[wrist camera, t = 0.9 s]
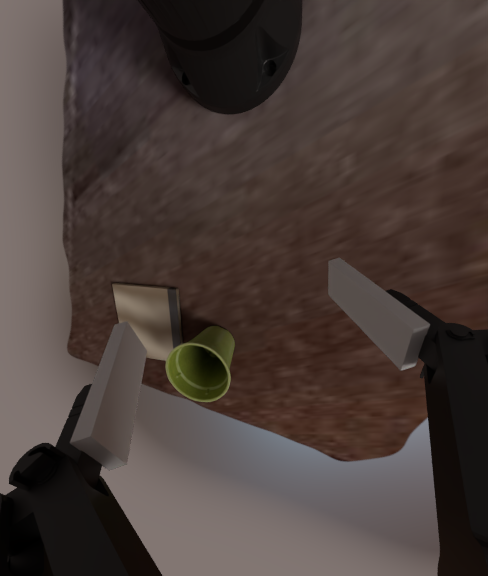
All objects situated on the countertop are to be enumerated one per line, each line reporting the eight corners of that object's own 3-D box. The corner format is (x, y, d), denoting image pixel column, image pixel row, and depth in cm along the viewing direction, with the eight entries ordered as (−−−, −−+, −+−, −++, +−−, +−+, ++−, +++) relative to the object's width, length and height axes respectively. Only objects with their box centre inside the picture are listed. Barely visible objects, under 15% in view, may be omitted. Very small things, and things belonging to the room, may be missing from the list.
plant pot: (182, 326, 40) (153, 355, 32) (228, 307, 37) (208, 334, 29) (208, 370, 42) (186, 408, 34) (253, 355, 39) (242, 393, 31)
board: (115, 282, 40) (111, 284, 39) (178, 288, 38) (175, 289, 37) (127, 351, 45) (124, 354, 44) (184, 360, 42) (182, 363, 41)
